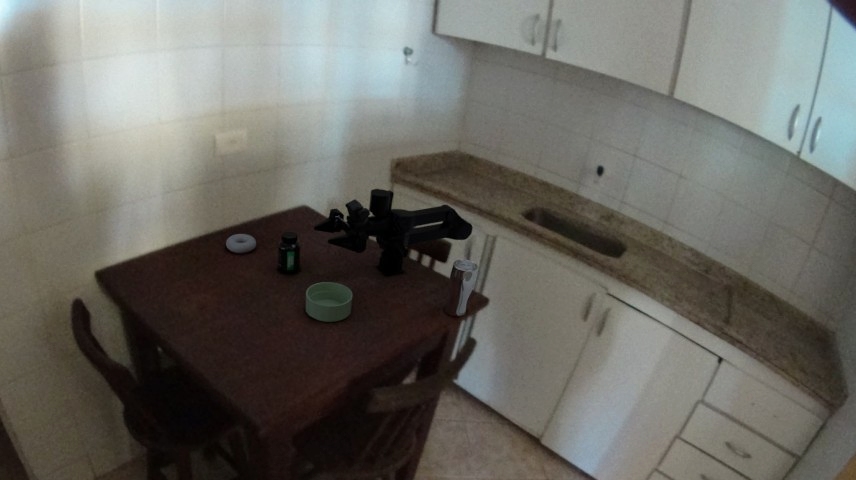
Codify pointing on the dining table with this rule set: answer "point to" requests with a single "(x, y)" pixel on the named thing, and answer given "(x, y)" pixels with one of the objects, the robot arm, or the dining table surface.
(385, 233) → the robot arm
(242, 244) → the donut
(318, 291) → the green round bowl
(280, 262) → the supplement bottle
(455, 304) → the beer glass
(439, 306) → the dining table surface
